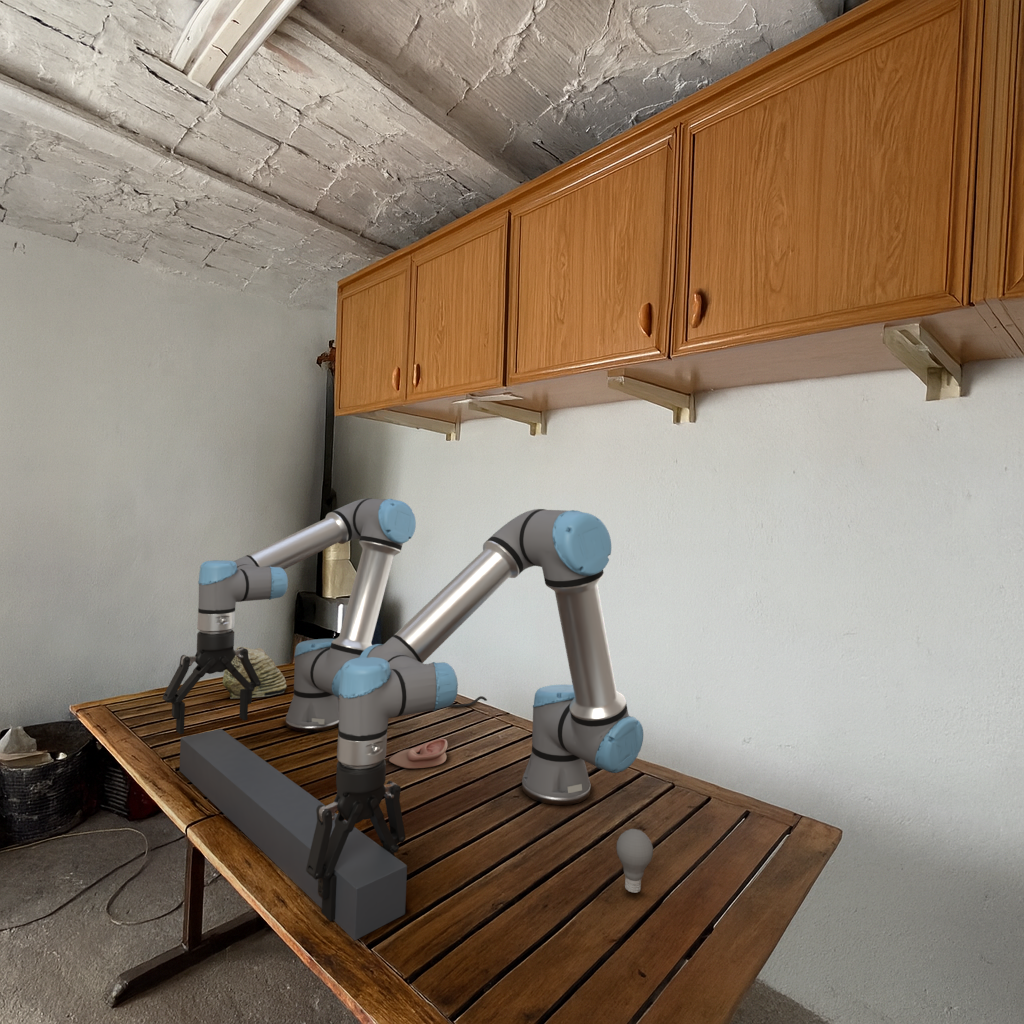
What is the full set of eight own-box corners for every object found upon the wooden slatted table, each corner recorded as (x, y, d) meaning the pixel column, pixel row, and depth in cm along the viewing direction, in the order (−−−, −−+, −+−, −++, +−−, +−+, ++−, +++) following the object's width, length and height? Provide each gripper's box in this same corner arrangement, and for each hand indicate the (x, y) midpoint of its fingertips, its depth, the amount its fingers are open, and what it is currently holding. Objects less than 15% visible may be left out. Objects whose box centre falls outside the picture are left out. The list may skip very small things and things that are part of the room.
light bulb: (610, 879, 108) (613, 822, 108) (644, 879, 109) (647, 822, 109) (619, 902, 102) (622, 840, 102) (655, 901, 103) (658, 840, 103)
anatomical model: (384, 748, 150) (402, 731, 161) (383, 765, 150) (401, 747, 161) (437, 755, 147) (452, 738, 159) (437, 772, 148) (451, 753, 159)
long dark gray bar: (179, 770, 143) (180, 737, 143) (219, 760, 149) (221, 728, 149) (354, 941, 91) (356, 888, 91) (405, 914, 97) (407, 865, 97)
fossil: (218, 695, 195) (220, 647, 195) (278, 685, 208) (279, 640, 207) (228, 703, 189) (230, 653, 188) (289, 692, 201) (290, 645, 201)
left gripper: (159, 640, 129) (156, 743, 130) (277, 627, 147) (274, 717, 147) (148, 634, 135) (145, 733, 135) (263, 621, 152) (260, 709, 153)
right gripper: (308, 788, 88) (302, 947, 89) (431, 749, 104) (426, 885, 104) (284, 770, 94) (278, 921, 94) (404, 736, 109) (399, 865, 109)
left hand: (212, 725), depth 141 cm, fingers open, 13 cm apart
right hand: (356, 902), depth 99 cm, fingers closed on long dark gray bar, 9 cm apart
